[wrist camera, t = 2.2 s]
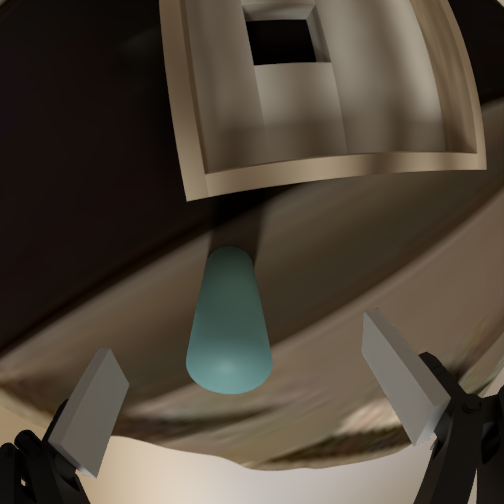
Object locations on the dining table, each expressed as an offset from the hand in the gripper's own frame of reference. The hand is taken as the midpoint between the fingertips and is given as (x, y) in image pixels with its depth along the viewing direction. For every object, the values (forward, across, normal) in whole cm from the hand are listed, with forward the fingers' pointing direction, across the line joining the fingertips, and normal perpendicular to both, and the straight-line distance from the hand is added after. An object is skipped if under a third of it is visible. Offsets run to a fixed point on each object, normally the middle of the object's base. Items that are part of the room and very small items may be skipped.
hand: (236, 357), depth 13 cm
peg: (+11, 0, 0) cm, 11 cm away
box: (+11, +10, +18) cm, 23 cm away
